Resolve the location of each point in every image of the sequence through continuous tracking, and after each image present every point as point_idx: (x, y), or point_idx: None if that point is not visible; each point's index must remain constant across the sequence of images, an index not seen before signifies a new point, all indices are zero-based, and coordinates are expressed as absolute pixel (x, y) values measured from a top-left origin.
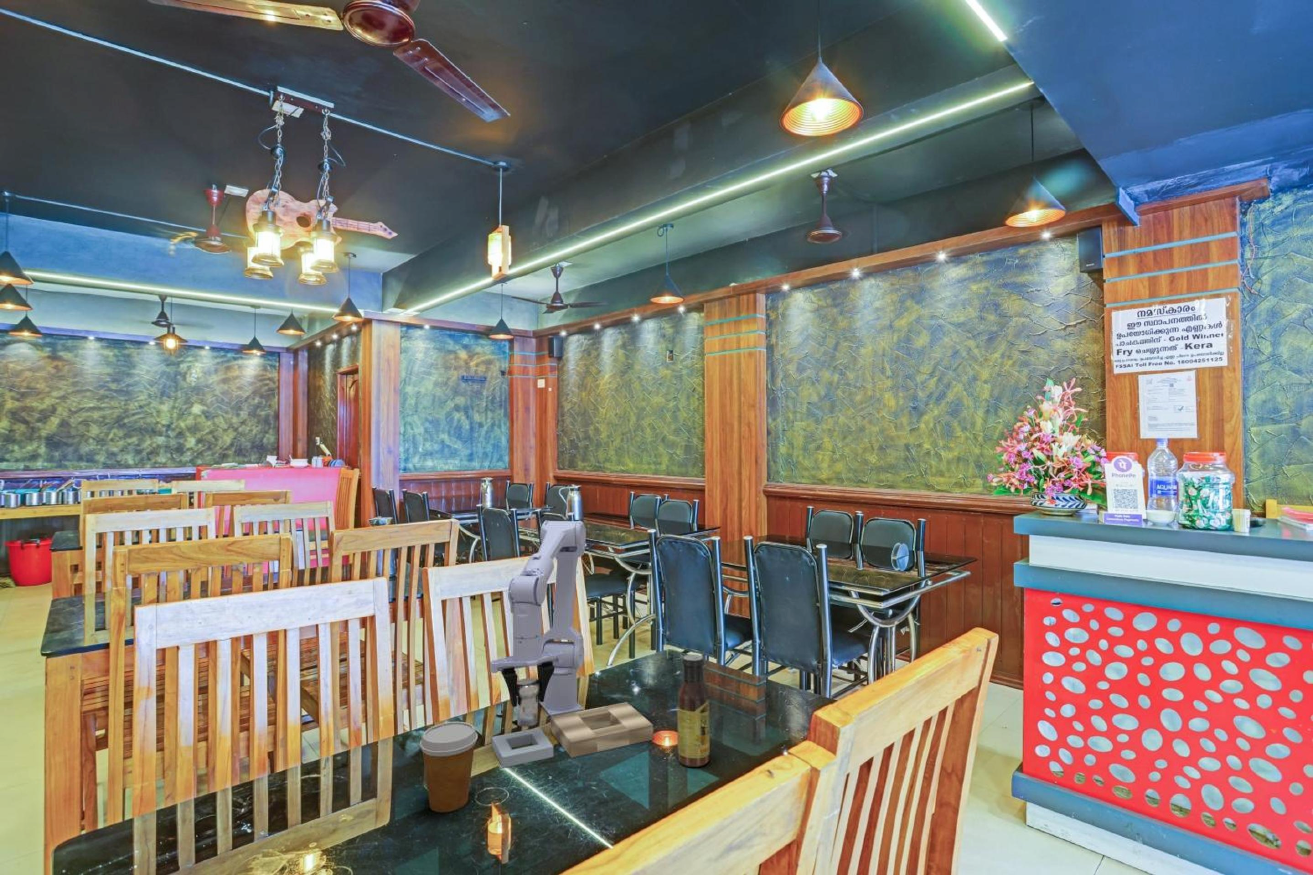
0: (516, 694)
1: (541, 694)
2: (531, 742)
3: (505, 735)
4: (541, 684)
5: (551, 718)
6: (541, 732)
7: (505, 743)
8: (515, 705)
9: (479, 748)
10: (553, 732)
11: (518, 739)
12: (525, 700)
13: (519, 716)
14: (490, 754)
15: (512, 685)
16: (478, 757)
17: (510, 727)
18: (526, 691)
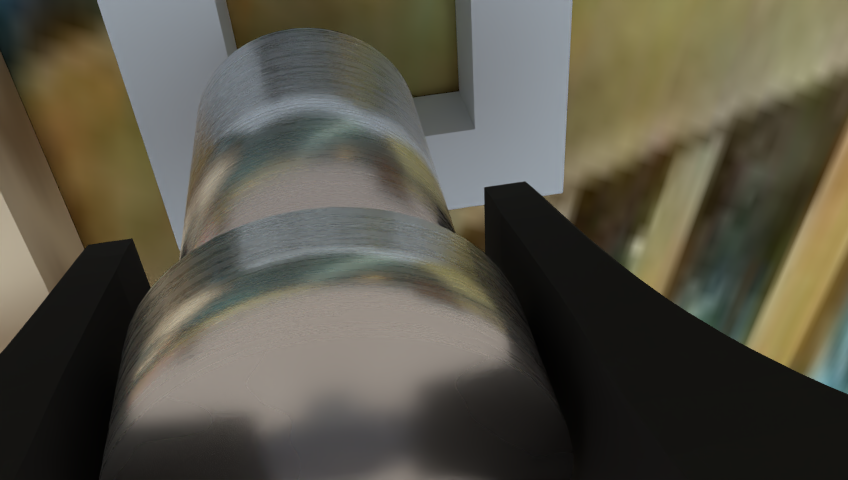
0: (545, 274)
1: (98, 298)
2: None
3: (463, 187)
4: (69, 448)
5: None
6: (165, 160)
7: (492, 52)
8: (507, 187)
9: (623, 153)
10: (68, 225)
11: None
12: (377, 202)
13: (418, 128)
14: (580, 40)
15: (705, 369)
16: (670, 20)
17: None
18: (388, 271)
